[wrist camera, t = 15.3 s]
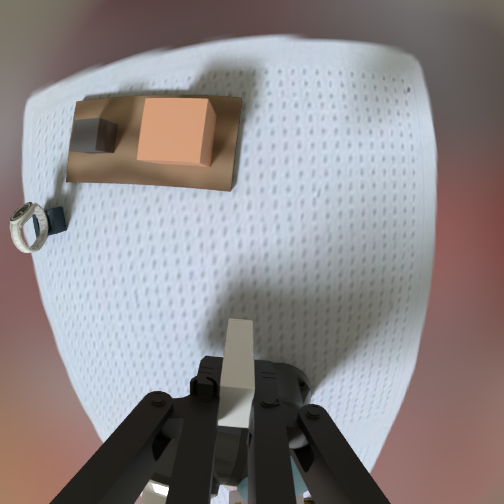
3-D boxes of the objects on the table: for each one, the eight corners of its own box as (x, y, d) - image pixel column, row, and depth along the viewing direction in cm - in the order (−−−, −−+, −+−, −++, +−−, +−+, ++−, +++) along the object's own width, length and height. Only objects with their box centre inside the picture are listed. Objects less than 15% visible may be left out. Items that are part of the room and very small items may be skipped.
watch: (60, 195, 41) (20, 201, 30) (68, 239, 42) (30, 255, 32) (40, 202, 41) (0, 209, 30) (48, 244, 43) (10, 259, 32)
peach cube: (210, 167, 39) (199, 162, 30) (159, 163, 39) (136, 159, 30) (216, 116, 37) (208, 98, 28) (166, 114, 37) (145, 98, 28)
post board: (230, 191, 41) (226, 193, 34) (70, 181, 40) (44, 183, 33) (241, 100, 38) (240, 84, 31) (80, 103, 37) (56, 94, 29)
